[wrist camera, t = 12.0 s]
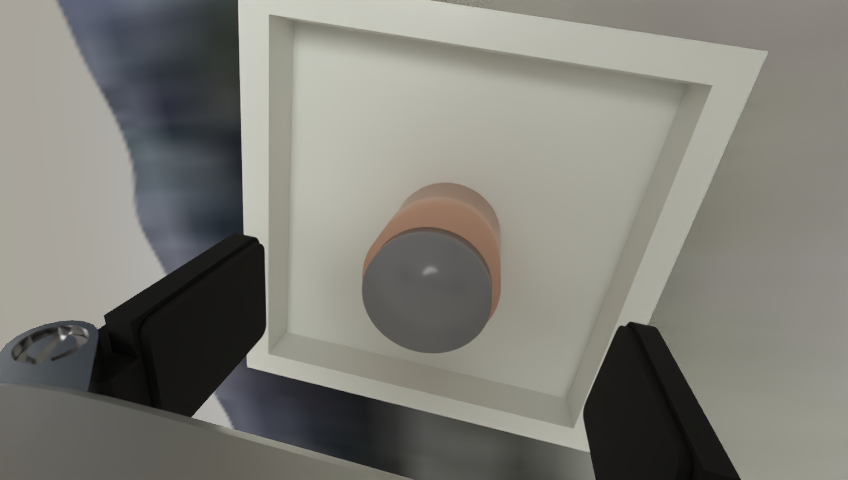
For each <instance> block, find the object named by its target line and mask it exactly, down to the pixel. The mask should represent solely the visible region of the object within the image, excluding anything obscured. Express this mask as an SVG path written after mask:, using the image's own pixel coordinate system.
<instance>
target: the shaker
mask: <svg viewBox="0 0 848 480" xmlns="http://www.w3.org/2000/svg"><path fill="white" fill-rule="evenodd" d="M362 280H363V282H362V298H363V303H364V307H365V309H366V312H367V314H368V316H369V318H370V320H371V321H372V323H373V324H374V325H375V327H376V328H377V329H378V330H379V331H380V332H381V333H382V334H383V335H384V336H385V337H387V338H388V339H389V340H391V341H392V342H394V343H396V344H398V345H399V346H401V347H404V348H406V349H409V350H412V351H416V352H421V353H444V352H449V351H453V350H456V349H458V348H461V347H463V346H465V345H466V344H468V343H470V342H471V341H472V340H474V339H475V338H476V337H477V336H478V335H479V334H480V333H481V331H482V330H483V328H484V327H485V325H486V323H487V322H488V321H489V320H490V318H491V317H492V316H493V314H494V312H495V310H496V308H497V305H498V302H499V299H500V294H501V237H500V225H499V221H498V218H497V216H496V213H495V212H494V210H493V208H492V207H491V205H490V204H489V203H488V201H487V200H486V199H484V198H483V197H482V196H481V195H480V194H479V193H477V192H476V191H474V190H472V189H470V188H468V187H466V186H463V185H459V184H455V183H435V184H431V185H427V186H425V187H423V188H420V189H419V190H417V191H415V192H414V193H413V194H411V195H410V196H409V197H408V198H407V199H406V200H405V201H404V203H403V204H402V205H401V207H400V208H399V209H398V211H397V212H396V213H395V215H394V216H393V217H392V219H391V220H390V221H389V223H388V224H387V225H386V227H385V228H384V229H383V231H382V232H381V233H380V235H379V236H378V237H377V239H376V240H375V241H374V243H373V244H372V246H371V247H370V249H369V251H368V253H367V255H366V258H365V261H364V265H363V272H362Z"/></svg>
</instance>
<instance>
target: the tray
mask: <svg viewBox="0 0 848 480" xmlns="http://www.w3.org/2000/svg"><path fill="white" fill-rule="evenodd" d="M238 15H239V56H240V97H241V138H242V179H243V219H244V235H248V236H252V237H256V238H257V239H258V240H259V242H260V244H262V245H263V246H264V250H265V287H266V330H265V333H264V335H263V336H262V338H261V339H260V340H259V341H258V342H257V344H256V345H255V346H254V347H253V348H252V349H251V350H250V352H249V353H248V354H247V367H250V368H254V369H258V370H262V371H266V372H270V373H274V374H278V375H282V376H286V377H290V378H294V379H298V380H302V381H306V382H310V383H314V384H318V385H322V386H326V387H330V388H334V389H338V390H342V391H346V392H350V393H354V394H358V395H362V396H366V397H370V398H374V399H378V400H382V401H386V402H390V403H394V404H398V405H402V406H406V407H410V408H414V409H418V410H422V411H426V412H430V413H434V414H438V415H442V416H446V417H450V418H454V419H458V420H462V421H466V422H470V423H474V424H478V425H482V426H486V427H490V428H494V429H498V430H502V431H506V432H510V433H514V434H518V435H522V436H526V437H530V438H534V439H538V440H542V441H546V442H550V443H554V444H558V445H562V446H566V447H570V448H574V449H578V450H582V451H586V452H590V449H589V444H588V439H587V435H586V430H585V425H584V420H583V409H584V405H585V402H586V400H587V398H588V395H589V393H590V391H591V388H592V386H593V384H594V381H595V379H596V377H597V374H598V372H599V370H600V367H601V365H602V363H603V361H604V358H605V356H606V354H607V351H608V349H609V347H610V344H611V342H612V340H613V337H614V335H615V333H616V330H617V329H618V327H619V326H621V325H622V326H626V325H627V324H628V322H635V323H640V324H644V325H648V323H649V321H650V318H651V316H652V314H653V312H654V309H655V307H656V305H657V303H658V300H659V298H660V296H661V293H662V291H663V289H664V287H665V284H666V282H667V280H668V278H669V275H670V273H671V271H672V269H673V266H674V264H675V262H676V260H677V257H678V255H679V253H680V251H681V248H682V246H683V244H684V242H685V239H686V237H687V235H688V232H689V230H690V228H691V226H692V223H693V221H694V219H695V217H696V214H697V212H698V210H699V208H700V205H701V203H702V201H703V199H704V196H705V194H706V192H707V190H708V187H709V185H710V183H711V181H712V178H713V176H714V174H715V171H716V169H717V167H718V165H719V162H720V160H721V158H722V156H723V153H724V151H725V149H726V147H727V144H728V142H729V140H730V138H731V135H732V133H733V131H734V129H735V126H736V124H737V122H738V120H739V117H740V115H741V113H742V110H743V108H744V106H745V104H746V101H747V99H748V97H749V95H750V92H751V90H752V88H753V86H754V83H755V81H756V79H757V77H758V74H759V72H760V70H761V68H762V65H763V63H764V61H765V59H766V56H767V54H768V52H769V51H763V50H756V49H749V48H743V47H736V46H729V45H723V44H716V43H710V42H703V41H696V40H690V39H683V38H676V37H670V36H663V35H656V34H650V33H643V32H637V31H630V30H623V29H617V28H610V27H603V26H597V25H590V24H583V23H577V22H570V21H563V20H557V19H550V18H544V17H537V16H530V15H524V14H517V13H510V12H504V11H497V10H490V9H484V8H477V7H471V6H464V5H457V4H451V3H444V2H437V1H431V0H238ZM435 183H455V184H459V185H463V186H466V187H468V188H470V189H472V190H474V191H476V192H477V193H479V194H480V195H481V196H482V197H483V198H484V199H486V200H487V201H488V203H489V204H490V205H491V207H492V208H493V210H494V212H495V213H496V216H497V218H498V221H499V225H500V237H501V294H500V299H499V302H498V305H497V308H496V310H495V312H494V314H493V316H492V317H491V318H490V320H489V321H488V322H487V323H486V325H485V327H484V328H483V330H482V331H481V333H480V334H479V335H478V336H477V337H476V338H475V339H474V340H472V341H471V342H470V343H468V344H466V345H465V346H463V347H461V348H458V349H456V350H453V351H449V352H444V353H421V352H416V351H412V350H409V349H406V348H404V347H401V346H399V345H398V344H396V343H394V342H392V341H391V340H389V339H388V338H387V337H385V336H384V335H383V334H382V333H381V332H380V331H379V330H378V329H377V328H376V327H375V325H374V324H373V323H372V321H371V320H370V318H369V316H368V314H367V312H366V309H365V307H364V303H363V298H362V282H363V280H362V272H363V265H364V261H365V258H366V255H367V253H368V251H369V249H370V247H371V246H372V244H373V243H374V241H375V240H376V239H377V237H378V236H379V235H380V233H381V232H382V231H383V229H384V228H385V227H386V225H387V224H388V223H389V221H390V220H391V219H392V217H393V216H394V215H395V213H396V212H397V211H398V209H399V208H400V207H401V205H402V204H403V203H404V201H405V200H406V199H407V198H408V197H409V196H410V195H411V194H413V193H414V192H415V191H417V190H419V189H420V188H423V187H425V186H427V185H431V184H435Z"/></svg>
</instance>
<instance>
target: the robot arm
mask: <svg viewBox="0 0 848 480" xmlns="http://www.w3.org/2000/svg"><path fill="white" fill-rule="evenodd" d="M104 318H105V322H106V325H104V326H103V327H101V328H100V329H97V328H96V327H95V326H94V325H93V324H90V323H87V322H84V321H73V320H71V321H59V322H54V323H50V324H45V325H42V326H39V327H36V328H33V329H30V330H28V331H26V332H24V333H22V334H21V335H19V336H17V337H15V338H14V339H13V340H11V341H10V342H9V343H7V344H6V345H5V347H4V348H3V349H2V351H1V352H0V480H413V479H410V478H406V477H403V476H399V475H396V474H392V473H388V472H385V471H381V470H378V469H374V468H371V467H367V466H364V465H360V464H357V463H353V462H349V461H346V460H342V459H339V458H335V457H332V456H328V455H324V454H321V453H317V452H314V451H310V450H307V449H303V448H299V447H296V446H292V445H289V444H285V443H281V442H278V441H274V440H271V439H267V438H263V437H260V436H256V435H252V434H249V433H245V432H241V431H238V430H234V429H230V428H227V427H223V426H220V425H216V424H212V423H208V422H205V421H201V420H198V419H194V418H191V417H192V416H193V415H194V414H195V412H196V411H197V410H198V409H199V408H200V407H201V406H202V405H203V403H204V402H205V401H206V400H207V399H208V398H209V397H210V395H211V394H212V393H213V392H214V391H215V390H216V389H217V388H218V387H219V385H220V384H221V383H222V382H223V381H224V380H225V379H226V377H227V376H228V375H229V374H230V373H231V372H232V371H233V370H234V368H235V367H236V366H237V365H238V364H239V363H240V362H241V361H242V359H243V358H244V357H245V356H246V355H247V354H248V353H249V352H250V350H251V349H252V348H253V347H254V346H255V345H256V344H257V342H258V341H259V340H260V339H261V338H262V336H263V335H264V333H265V330H266V287H265V250H264V246H263V245H262V244H260V242H259V240H258V239H257V238H256V237H252V236H248V235H243V234H239V233H234V234H232V235H230V236H229V237H227V238H225V239H224V240H222V241H221V242H219V243H218V244H216V245H214V246H213V247H211V248H210V249H208V250H207V251H205V252H203V253H202V254H200V255H199V256H197V257H195V258H194V259H192V260H191V261H189V262H188V263H186V264H184V265H183V266H181V267H180V268H178V269H177V270H175V271H173V272H172V273H170V274H169V275H167V276H165V277H164V278H162V279H161V280H159V281H158V282H156V283H155V284H153V285H151V286H150V287H148V288H147V289H145V290H143V291H142V292H140V293H139V294H137V295H135V296H134V297H133V298H131V299H129V300H128V301H126V302H124V303H123V304H121V305H120V306H118V307H117V308H115V309H113V310H112V311H110V312H109V313H107V314H105V315H104ZM583 420H584V425H585V430H586V435H587V439H588V444H589V449H590V454H591V459H592V463H593V468H594V473H595V478H596V480H741V479H740V477H739V475H738V473H737V472H736V470H735V468H734V466H733V464H732V463H731V461H730V459H729V457H728V455H727V453H726V452H725V450H724V448H723V446H722V444H721V443H720V441H719V439H718V437H717V435H716V434H715V432H714V430H713V428H712V426H711V425H710V423H709V421H708V419H707V417H706V416H705V414H704V412H703V410H702V408H701V407H700V405H699V403H698V401H697V399H696V397H695V396H694V394H693V392H692V390H691V388H690V387H689V385H688V383H687V381H686V379H685V378H684V376H683V374H682V372H681V370H680V369H679V367H678V365H677V363H676V361H675V360H674V358H673V356H672V354H671V352H670V350H669V349H668V347H667V345H666V343H665V341H664V340H663V338H662V336H661V334H660V332H659V331H658V329H657V328H656V327H653V326H649V325H644V324H640V323H635V322H628V324H627V325H626V326H622V325H621V326H619V327H618V329H617V330H616V333H615V335H614V337H613V340H612V342H611V344H610V347H609V349H608V351H607V354H606V356H605V358H604V361H603V363H602V365H601V367H600V370H599V372H598V374H597V377H596V379H595V381H594V384H593V386H592V388H591V391H590V393H589V395H588V398H587V400H586V402H585V405H584V409H583Z"/></svg>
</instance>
